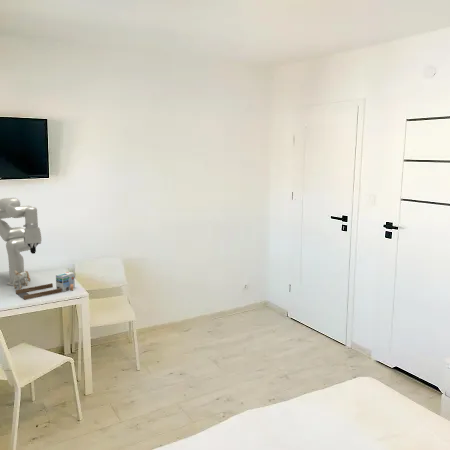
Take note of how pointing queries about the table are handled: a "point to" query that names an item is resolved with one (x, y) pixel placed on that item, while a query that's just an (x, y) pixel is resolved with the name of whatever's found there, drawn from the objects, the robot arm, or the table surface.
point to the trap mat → (22, 295)
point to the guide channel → (39, 292)
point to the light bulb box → (65, 281)
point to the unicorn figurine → (21, 276)
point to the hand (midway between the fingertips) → (33, 253)
